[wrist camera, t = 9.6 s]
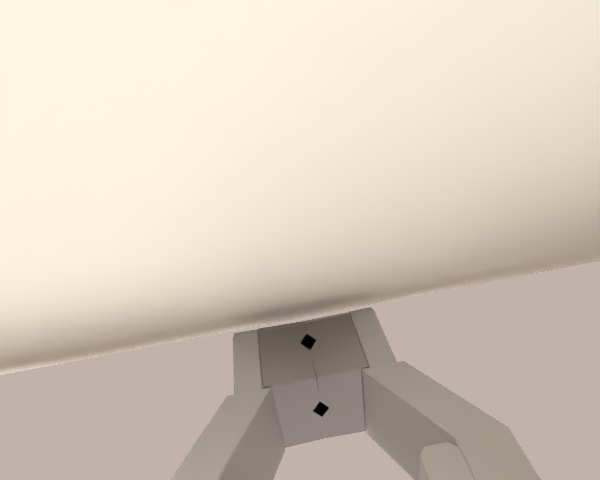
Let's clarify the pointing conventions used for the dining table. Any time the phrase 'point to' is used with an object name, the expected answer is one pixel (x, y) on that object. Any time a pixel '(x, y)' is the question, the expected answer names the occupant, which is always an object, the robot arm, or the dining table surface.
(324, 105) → the lid
